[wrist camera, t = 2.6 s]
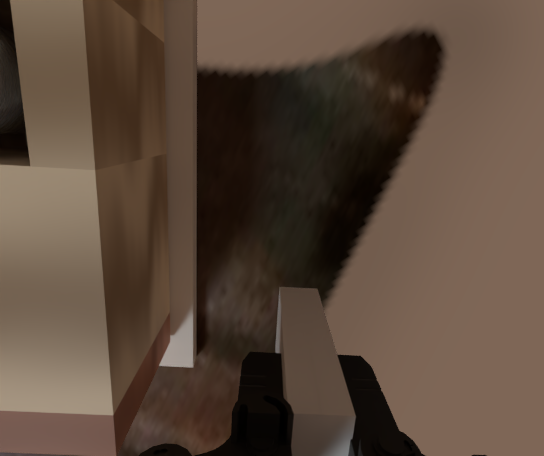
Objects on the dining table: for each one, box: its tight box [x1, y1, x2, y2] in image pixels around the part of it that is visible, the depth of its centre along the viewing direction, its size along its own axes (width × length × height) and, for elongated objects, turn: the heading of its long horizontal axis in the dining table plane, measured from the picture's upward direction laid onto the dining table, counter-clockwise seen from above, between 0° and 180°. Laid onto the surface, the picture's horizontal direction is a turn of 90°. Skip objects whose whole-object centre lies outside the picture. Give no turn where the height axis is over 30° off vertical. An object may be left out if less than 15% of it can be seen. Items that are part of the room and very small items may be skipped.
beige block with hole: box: [0, 0, 170, 456], centre depth 11 cm, size 16×7×6 cm, turn 177°
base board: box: [25, 0, 197, 367], centre depth 14 cm, size 22×15×1 cm
